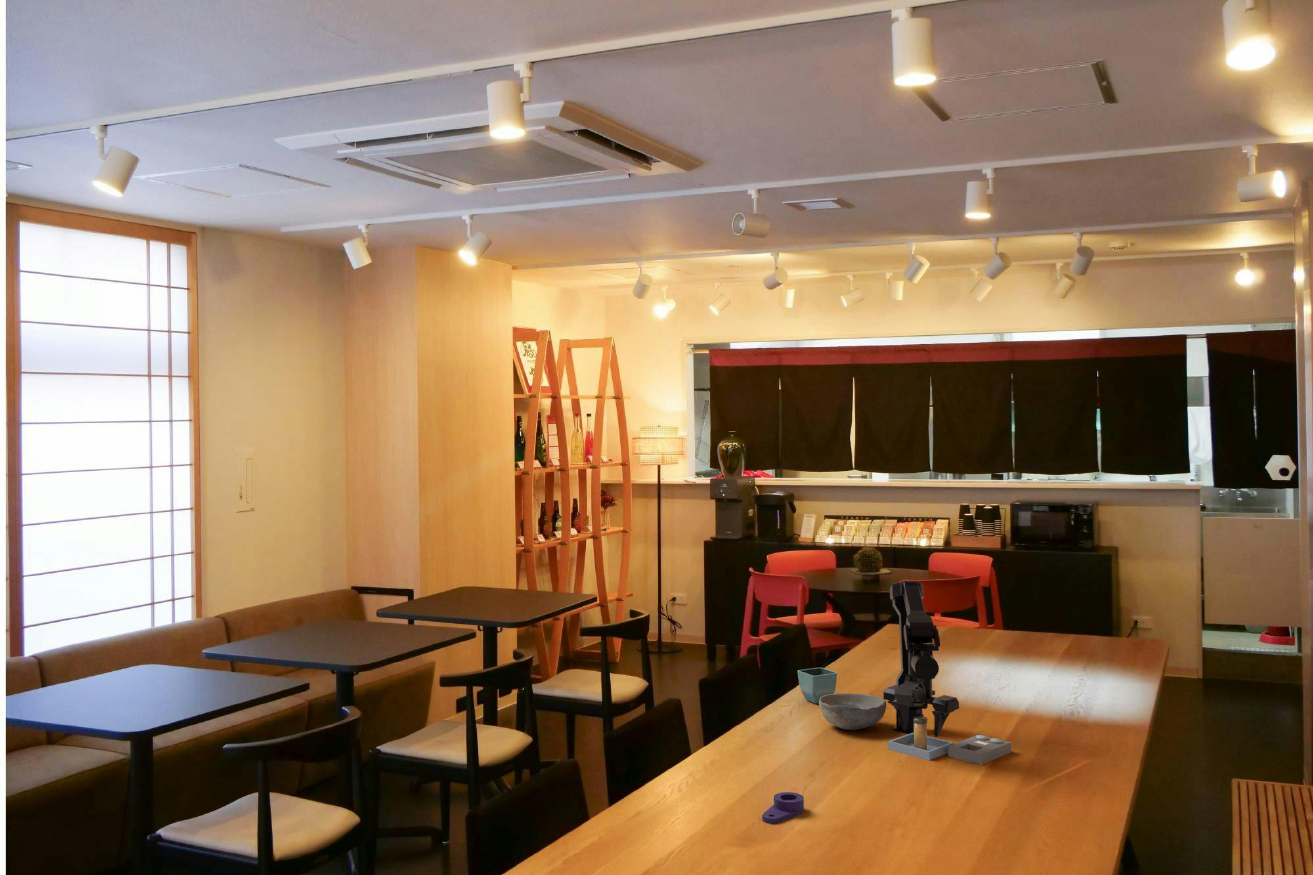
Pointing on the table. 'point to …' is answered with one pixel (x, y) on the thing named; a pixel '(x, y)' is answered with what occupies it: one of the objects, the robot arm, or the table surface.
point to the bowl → (852, 710)
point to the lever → (784, 807)
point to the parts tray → (907, 747)
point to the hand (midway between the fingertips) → (920, 732)
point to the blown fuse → (920, 732)
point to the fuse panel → (979, 749)
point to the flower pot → (816, 683)
